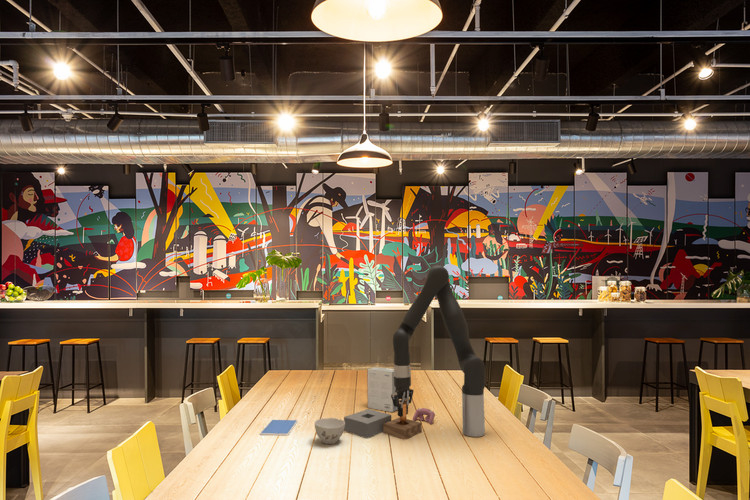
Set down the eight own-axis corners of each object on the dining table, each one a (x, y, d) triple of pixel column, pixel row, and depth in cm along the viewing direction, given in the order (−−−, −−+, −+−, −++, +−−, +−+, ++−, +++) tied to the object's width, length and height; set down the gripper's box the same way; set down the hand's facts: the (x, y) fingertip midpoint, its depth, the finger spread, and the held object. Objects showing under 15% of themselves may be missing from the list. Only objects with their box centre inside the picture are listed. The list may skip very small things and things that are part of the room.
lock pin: (402, 425, 194) (402, 402, 195) (408, 426, 192) (407, 403, 193) (398, 427, 192) (397, 403, 193) (403, 428, 190) (403, 404, 191)
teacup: (341, 448, 174) (341, 427, 175) (310, 446, 176) (310, 426, 177) (348, 435, 189) (348, 416, 190) (320, 433, 191) (320, 414, 192)
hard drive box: (400, 409, 227) (400, 369, 228) (392, 412, 221) (392, 372, 222) (374, 404, 235) (374, 366, 237) (366, 408, 229) (366, 369, 230)
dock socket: (368, 421, 206) (368, 408, 207) (391, 428, 197) (391, 414, 198) (344, 430, 194) (344, 417, 195) (367, 438, 185) (367, 423, 186)
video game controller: (434, 426, 205) (436, 410, 208) (430, 424, 202) (433, 408, 205) (415, 422, 210) (418, 407, 213) (411, 420, 207) (414, 405, 210)
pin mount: (400, 426, 200) (400, 417, 201) (421, 432, 193) (421, 422, 193) (383, 433, 191) (383, 423, 192) (405, 439, 184) (405, 429, 184)
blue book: (271, 422, 209) (271, 419, 209) (298, 422, 208) (298, 419, 208) (259, 436, 189) (259, 433, 189) (288, 437, 189) (288, 433, 189)
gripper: (405, 371, 201) (405, 409, 200) (385, 376, 191) (386, 417, 190) (418, 373, 197) (419, 413, 195) (399, 379, 186) (399, 421, 185)
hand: (402, 414), depth 193 cm, fingers closed on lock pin, 3 cm apart
